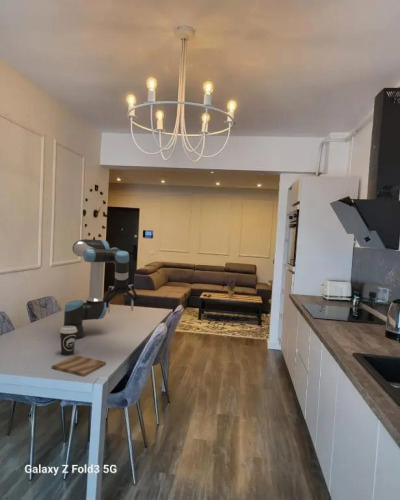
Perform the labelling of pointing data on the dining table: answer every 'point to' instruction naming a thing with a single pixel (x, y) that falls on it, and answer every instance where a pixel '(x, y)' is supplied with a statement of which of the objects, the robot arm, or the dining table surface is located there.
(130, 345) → the dining table surface
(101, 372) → the dining table surface
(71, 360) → the wooden board
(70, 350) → the coffee cup
